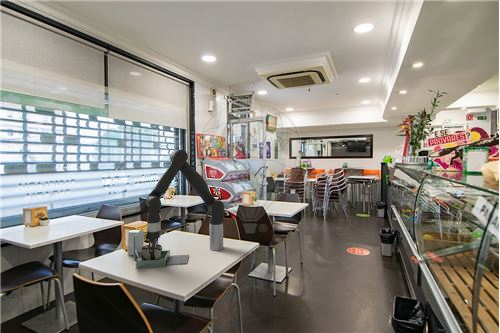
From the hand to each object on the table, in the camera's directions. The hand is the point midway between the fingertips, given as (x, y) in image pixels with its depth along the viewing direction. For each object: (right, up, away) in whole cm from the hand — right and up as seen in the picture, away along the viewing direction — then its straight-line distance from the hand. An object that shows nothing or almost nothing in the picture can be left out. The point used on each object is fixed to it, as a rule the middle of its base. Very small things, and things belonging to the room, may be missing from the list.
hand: (153, 257), depth 155 cm
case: (0, -3, 0) cm, 3 cm away
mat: (+14, -3, +3) cm, 14 cm away
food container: (0, -3, 0) cm, 3 cm away
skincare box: (-17, -3, +15) cm, 23 cm away
